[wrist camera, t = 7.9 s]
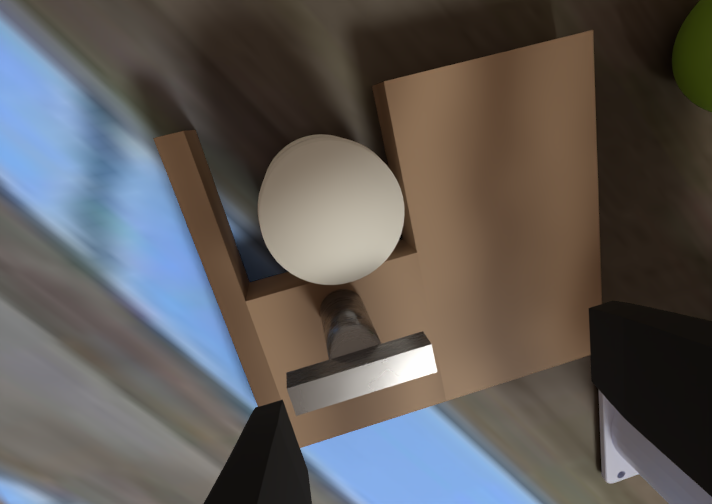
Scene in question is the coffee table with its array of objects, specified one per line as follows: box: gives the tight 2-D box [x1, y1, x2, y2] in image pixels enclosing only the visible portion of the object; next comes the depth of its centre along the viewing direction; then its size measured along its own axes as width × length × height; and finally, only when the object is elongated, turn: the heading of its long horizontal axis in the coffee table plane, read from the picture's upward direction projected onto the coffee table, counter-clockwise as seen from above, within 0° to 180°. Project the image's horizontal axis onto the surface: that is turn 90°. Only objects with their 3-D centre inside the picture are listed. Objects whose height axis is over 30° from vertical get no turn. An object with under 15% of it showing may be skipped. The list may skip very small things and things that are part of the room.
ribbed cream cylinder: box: [258, 134, 404, 285], centre depth 15 cm, size 5×5×5 cm
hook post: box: [286, 289, 437, 416], centre depth 14 cm, size 4×2×5 cm, turn 103°
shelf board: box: [153, 30, 602, 448], centre depth 17 cm, size 16×14×2 cm
